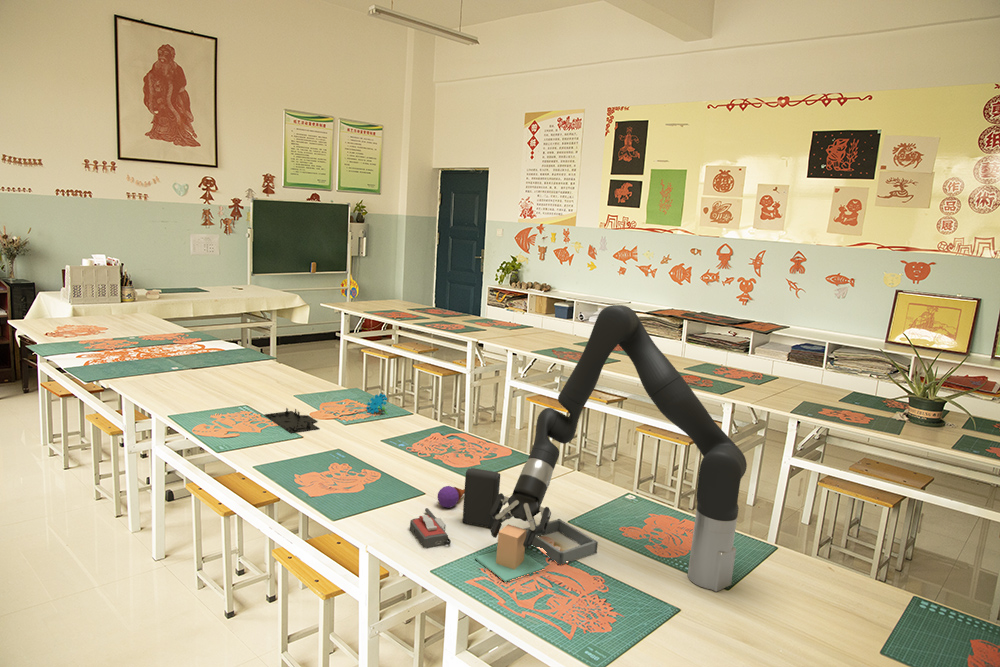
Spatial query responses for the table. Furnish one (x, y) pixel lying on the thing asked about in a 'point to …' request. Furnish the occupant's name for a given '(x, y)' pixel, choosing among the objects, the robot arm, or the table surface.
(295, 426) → the circuit board
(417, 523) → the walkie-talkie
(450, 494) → the kendama
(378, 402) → the gear
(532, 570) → the mat
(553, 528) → the grey rectangular frame
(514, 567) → the block
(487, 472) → the card reader
